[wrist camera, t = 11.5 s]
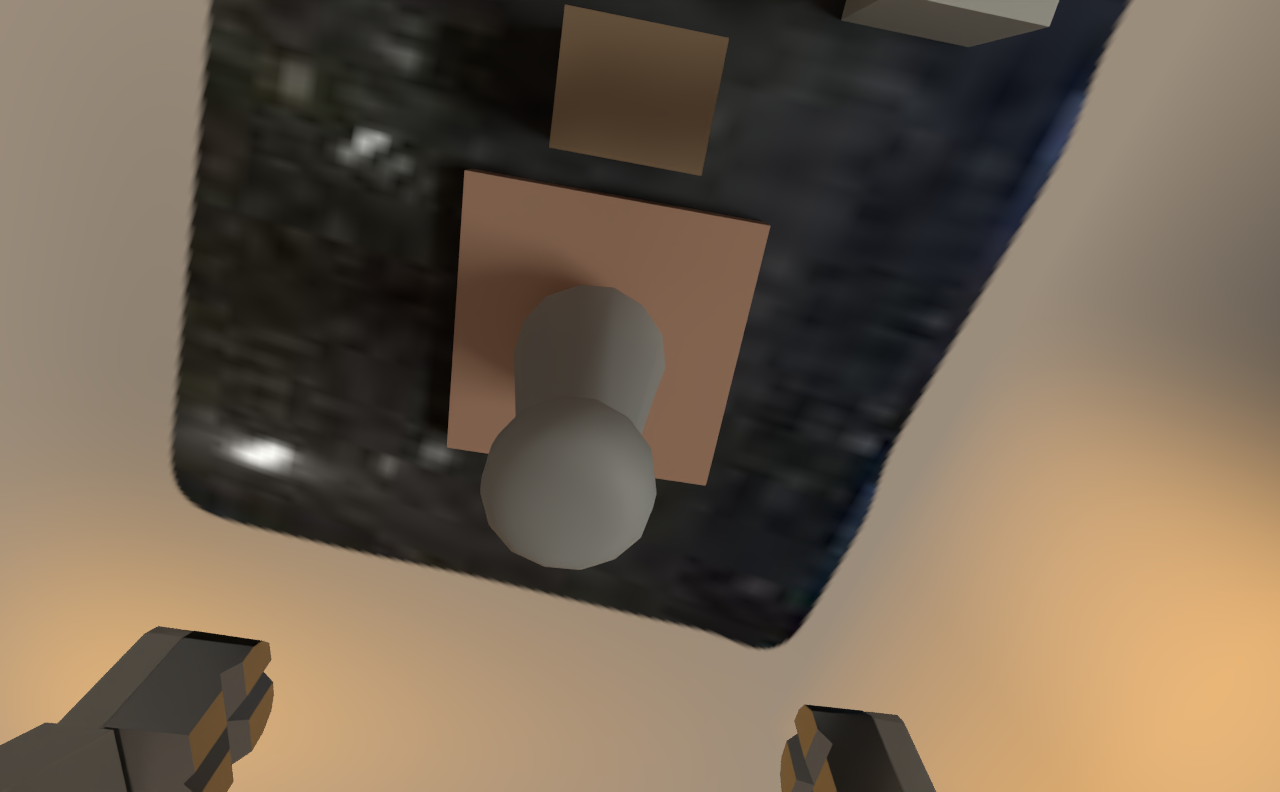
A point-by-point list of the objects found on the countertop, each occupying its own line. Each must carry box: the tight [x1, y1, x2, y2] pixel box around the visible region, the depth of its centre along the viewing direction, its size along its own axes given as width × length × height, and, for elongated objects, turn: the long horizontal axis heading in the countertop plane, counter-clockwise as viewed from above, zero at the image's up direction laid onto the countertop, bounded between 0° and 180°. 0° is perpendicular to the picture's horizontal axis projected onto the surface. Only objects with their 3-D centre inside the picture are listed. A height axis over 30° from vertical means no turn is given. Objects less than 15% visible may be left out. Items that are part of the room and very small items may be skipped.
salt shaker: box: [480, 285, 666, 570], centre depth 20 cm, size 6×6×13 cm
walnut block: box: [549, 5, 729, 176], centre depth 22 cm, size 4×5×5 cm
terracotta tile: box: [447, 169, 770, 485], centre depth 27 cm, size 12×12×1 cm
